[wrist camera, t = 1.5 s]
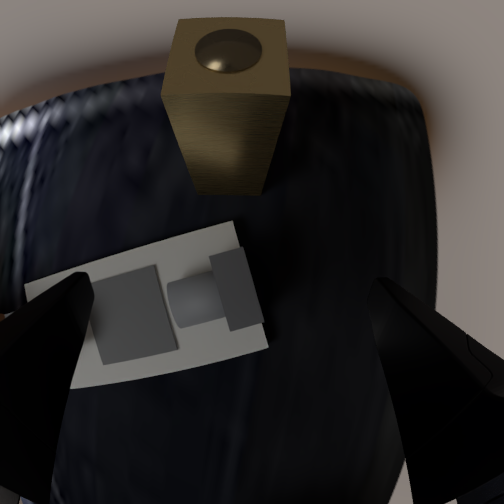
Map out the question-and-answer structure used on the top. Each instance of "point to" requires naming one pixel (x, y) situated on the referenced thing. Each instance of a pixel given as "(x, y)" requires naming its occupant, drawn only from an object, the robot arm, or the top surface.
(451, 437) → the robot arm
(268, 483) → the top surface
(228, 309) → the plate with raised blocks
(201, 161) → the gold tall square block
